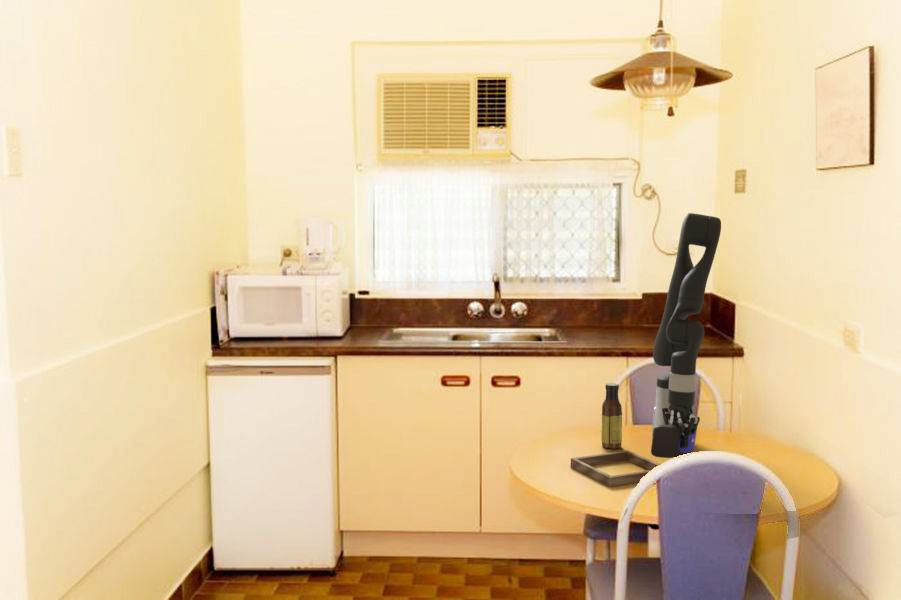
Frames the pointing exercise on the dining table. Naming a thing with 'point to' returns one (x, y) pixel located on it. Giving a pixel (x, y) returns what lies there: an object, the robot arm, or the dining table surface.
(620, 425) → the sauce bottle
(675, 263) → the robot arm
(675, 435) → the black two-tone rounded block
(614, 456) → the walnut tray
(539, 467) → the dining table surface
